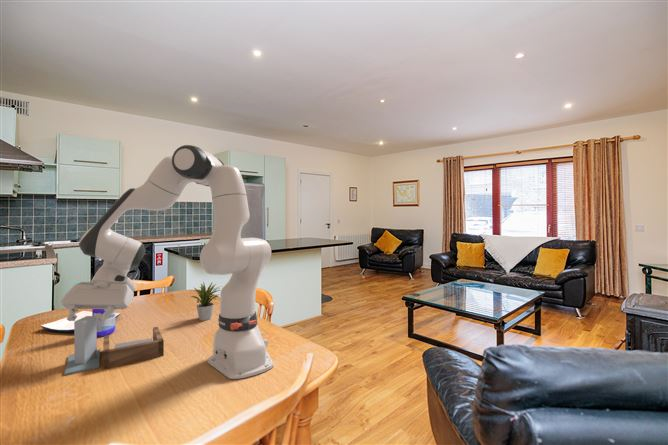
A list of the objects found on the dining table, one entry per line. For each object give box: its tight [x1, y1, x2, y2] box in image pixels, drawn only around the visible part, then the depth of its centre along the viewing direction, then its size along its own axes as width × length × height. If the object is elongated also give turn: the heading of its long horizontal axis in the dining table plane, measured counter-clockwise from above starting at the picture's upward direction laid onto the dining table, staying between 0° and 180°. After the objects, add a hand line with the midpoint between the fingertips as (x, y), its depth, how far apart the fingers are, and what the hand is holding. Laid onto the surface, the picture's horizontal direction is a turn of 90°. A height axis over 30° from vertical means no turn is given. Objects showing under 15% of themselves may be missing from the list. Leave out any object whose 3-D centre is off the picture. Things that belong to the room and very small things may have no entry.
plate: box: [40, 310, 122, 333], centre depth 130 cm, size 20×20×3 cm
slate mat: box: [64, 348, 101, 376], centre depth 98 cm, size 14×8×1 cm, turn 36°
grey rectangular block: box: [73, 316, 98, 364], centre depth 98 cm, size 3×5×13 cm, turn 1°
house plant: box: [190, 281, 223, 322], centre depth 138 cm, size 14×14×16 cm
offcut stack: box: [113, 337, 153, 349], centre depth 102 cm, size 4×12×5 cm, turn 120°
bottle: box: [91, 309, 116, 338], centre depth 120 cm, size 7×6×17 cm
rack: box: [102, 326, 165, 370], centre depth 104 cm, size 15×16×5 cm
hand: (85, 320), depth 98 cm, fingers open, 8 cm apart
